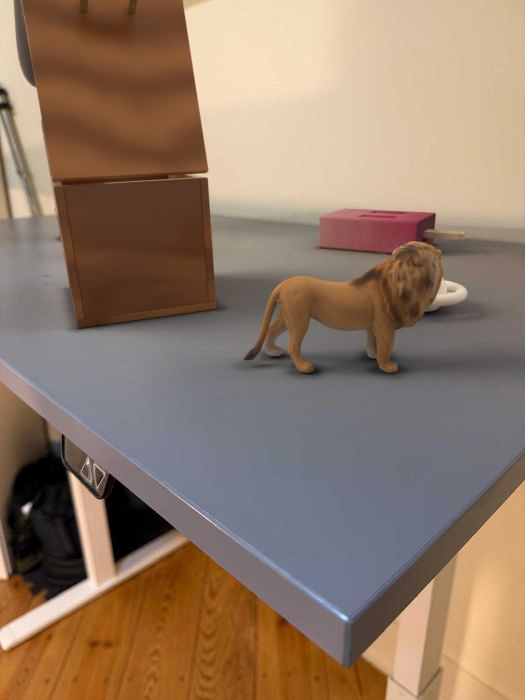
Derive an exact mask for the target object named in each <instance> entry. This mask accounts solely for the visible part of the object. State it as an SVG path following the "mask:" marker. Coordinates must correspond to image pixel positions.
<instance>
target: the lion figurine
mask: <svg viewBox="0 0 525 700" xmlns="http://www.w3.org/2000/svg"><path fill="white" fill-rule="evenodd" d="M441 260H442V250H441V249H439V248H438V249H437V248H436V247H435V246H433V245H429V244H426V243H423V242H416V241H411V242H408V243H407V244H404V245H402V246H400V247H399V248H398V249H395V250H394V251H393V253H392V254H390V257H389V258H386V259H384V260H383V261H382V262H381V263H378V264H375V265H373V266H372V267H370V268H369V270H368V271H366V272H364V273H363V274H362V275H361V276H360V277H357V278H355V279H353V280H351V281H329V280H324V279H320V278H316V277H312V276H308V275H306V276H305V275H301V276H300V275H299V276H293V277H290V278H287V279H285V280H283V281H281V282H280V283H279V284H278V285H277V286H276V287H275V288H274V289H273V290H272V292H271V294H270V296H269V298H268V300H267V302H266V305H265V310H264V312H263V317H262V322H261V327H260V331H259V336H258V339H257V340H256V341H257V342H256V343H255V345H254V346H253V347H252V348H251V349H250V350H249V351H248V352H247V353H246V355H244V356H243V358H242V360H243V361H252V360H254V359H256V357H258V355H259V354H260V352H261V351H262V349H263V347H264V351H265V354H267V355H268V356H271V357H279V356H282V354H283V348H282V347H280V346H277V345H276V340H277V339H278V338H279V337H280V335H282V334H284V333H285V332H288V337H289V338H288V339H289V340H288V343H287V347H286V349H287V352H288V354H289V356H290V358H291V359H292V361H293V363H294V365H295V367H296V369H297V370H298V371H300V372H301V373H306V374H309V373H312V372H314V370H315V364H314V362H312V361H311V360H307V359H305V358H304V356H303V354H302V344H303V341H304V340H305V337H306V335H307V332H308V329H309V327H310V321H311V319H314V320H316V322H318V323H320V324H322V325H323V326H325V327H327V328H329V329H333V330H335V331H340V332H357V331H364V330H365V331H366V344H365V352H366V355H367V356H368V357H369V358H371V359H374V360H376V361H377V363H378V367H379V369H380V370H381V371H382V372H385V373H388V374H393V373H395V372H397V371H398V368H399V367H398V364H397V363H396V362H394V361H391V354H392V352H393V348H394V344H395V339H396V330H401V329H404V328H411V327H414V326H415V325H416V324H417V323H418V322H420V321H421V320H422V318H423V316H424V314H425V313H426V312H425V310H426V309H428V308H429V306H430V305H431V304H432V303H433V302H434V300H435V299H436V296H437V293H438V291H439V288H440V285H441V281H442V277H443V278H444V269H443V266H442V263H441ZM277 304H280V308H279V312H278V314H277V316H276V319H275V320H274V321H273V322H272V323H271V321H272V319H273V315H274V313H275V309H276V306H277Z"/></svg>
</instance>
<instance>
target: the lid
mask: <svg viewBox="0 0 525 700" xmlns="http://www.w3.org/2000/svg"><path fill="white" fill-rule="evenodd" d="M21 2H22V8H23V14H24V19H25V25H26V31H27V37H28V42H29V48H30V54H31V60H32V66H33V71H34V77H35V83H36V88H35V89H36V94H37V100H38V106H39V110H40V111H39V112H40V118H41V119H42V124H43V129H44V134H43V135H45V141H46V147H47V153H48V158H49V164H50V170H51V176H52V181H53V182H63V181H80V180H98V179H115V178H133V177H150V176H168V175H185V174H194V175H200V174H208V172H209V163H208V157H207V151H206V145H205V137H204V130H203V125H202V117H201V111H200V104H199V98H198V92H197V91H198V90H197V85H196V79H195V72H194V65H193V58H192V52H191V46H190V39H189V33H188V26H187V20H186V13H185V6H184V0H21Z"/></svg>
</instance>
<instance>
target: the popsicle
mask: <svg viewBox="0 0 525 700" xmlns="http://www.w3.org/2000/svg"><path fill="white" fill-rule="evenodd" d="M436 215H437V213H436V212H429V211H428V212H425V211H405V210H384V209H363V208H341V209H337V210H334V211H331V212H327V213H325V214H322V215H320V216H319V233H318V235H319V236H318V239H319V240H318V244H319V245H318V246H319V249H329V250H343V251H351V252H353V251H354V252H363V253H364V252H365V253H377V254H387V255H392V253H393V251H394V250H395V249H398V248H399V247H400V246H402V245H404V244H407V243H408V242H411V241H416V242H423V243H426V244H429V245H432V246H433V245H434V241H435V240H434V239H442V240H456V241H463V240H464V239H465V238H466V231H462V230H461V231H460V230H445V229H436V228H435V227H436V217H437V216H436Z"/></svg>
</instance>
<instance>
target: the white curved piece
mask: <svg viewBox="0 0 525 700" xmlns="http://www.w3.org/2000/svg"><path fill="white" fill-rule="evenodd" d="M467 297H468V290H467V289H466V287H465V286H463V285H461V284H459V283H457V282H454V281H449V280H446V279H444V276H443V277H442V281H441V285H440V288H439V291H438V293H437V296H436V299H435V300H434V302H433V303H432V304H431V305H430V306H429V308H428V309H426V310H425V312H424V313H429V312H433V311H436V310H438V309H439V308H440V307H446V306H452V305H456V304H459V303H462V302H463V301H465V300H466V299H467Z"/></svg>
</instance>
